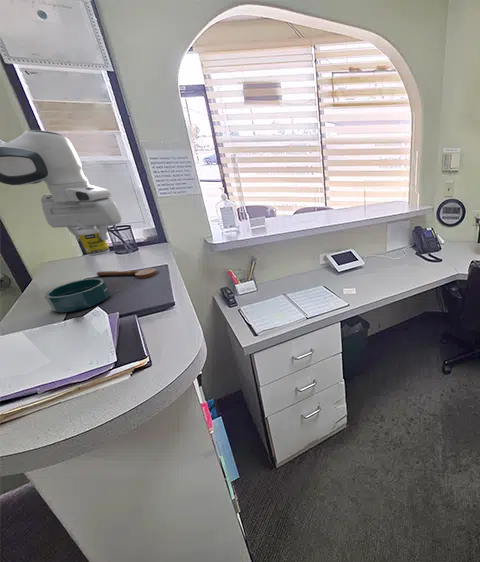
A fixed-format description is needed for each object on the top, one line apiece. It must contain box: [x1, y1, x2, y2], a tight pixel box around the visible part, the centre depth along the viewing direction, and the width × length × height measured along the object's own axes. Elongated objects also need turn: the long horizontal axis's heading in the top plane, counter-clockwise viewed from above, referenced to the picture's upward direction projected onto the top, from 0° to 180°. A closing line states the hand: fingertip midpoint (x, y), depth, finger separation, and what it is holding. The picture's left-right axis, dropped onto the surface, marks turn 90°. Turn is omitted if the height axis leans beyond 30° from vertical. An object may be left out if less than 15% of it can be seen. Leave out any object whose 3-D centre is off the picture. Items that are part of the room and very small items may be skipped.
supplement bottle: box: [78, 223, 110, 257], centre depth 93 cm, size 5×5×10 cm
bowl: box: [44, 277, 110, 313], centre depth 88 cm, size 12×12×5 cm
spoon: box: [96, 267, 158, 279], centre depth 107 cm, size 21×6×2 cm, turn 87°
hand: (93, 240), depth 93 cm, fingers closed on supplement bottle, 5 cm apart
